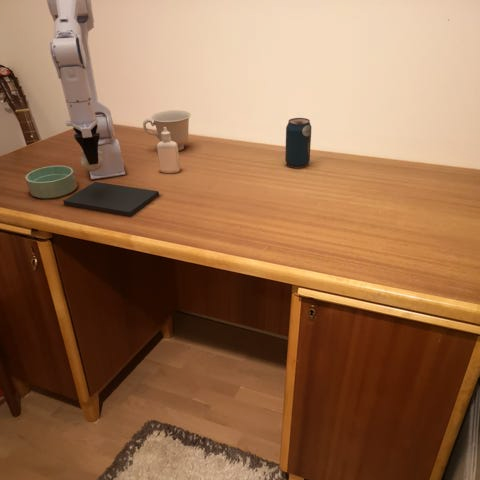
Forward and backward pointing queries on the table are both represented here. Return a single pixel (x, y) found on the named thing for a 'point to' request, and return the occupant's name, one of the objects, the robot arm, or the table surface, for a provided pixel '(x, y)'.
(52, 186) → the bowl
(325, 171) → the table surface
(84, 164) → the rubber duck
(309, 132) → the soda can
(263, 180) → the table surface
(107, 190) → the desk pad
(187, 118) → the teacup
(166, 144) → the eye dropper bottle
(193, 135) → the table surface
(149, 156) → the table surface
